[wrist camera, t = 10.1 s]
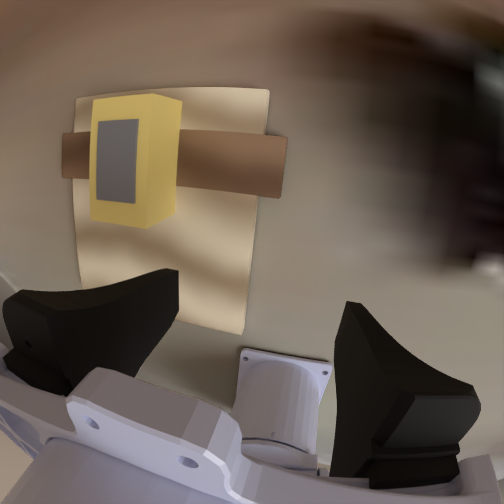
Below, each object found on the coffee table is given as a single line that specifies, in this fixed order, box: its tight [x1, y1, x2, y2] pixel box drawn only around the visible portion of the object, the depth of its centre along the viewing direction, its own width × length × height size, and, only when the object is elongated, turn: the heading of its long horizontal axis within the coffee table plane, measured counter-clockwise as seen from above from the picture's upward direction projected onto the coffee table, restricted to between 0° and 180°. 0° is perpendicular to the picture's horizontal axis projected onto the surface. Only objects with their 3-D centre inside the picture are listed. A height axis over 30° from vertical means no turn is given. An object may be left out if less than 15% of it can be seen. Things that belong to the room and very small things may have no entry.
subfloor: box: [62, 87, 288, 335], centre depth 22 cm, size 18×19×1 cm
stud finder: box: [89, 94, 182, 229], centre depth 18 cm, size 8×5×4 cm, turn 174°
